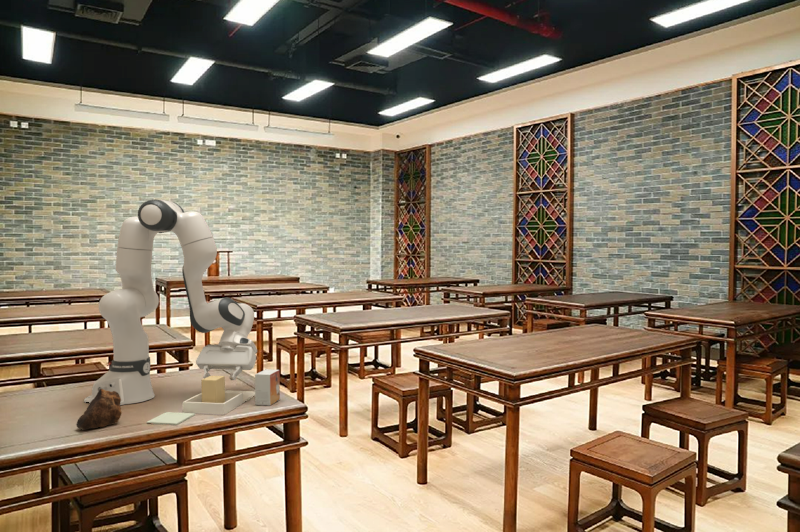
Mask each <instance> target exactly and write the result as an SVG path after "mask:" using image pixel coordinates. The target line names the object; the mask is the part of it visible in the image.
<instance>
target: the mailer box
mask: <svg viewBox="0 0 800 532" xmlns="http://www.w3.org/2000/svg"><path fill="white" fill-rule="evenodd" d="M253 396H254V397H255V390H254V391H253V390H252V391H251V390H226V389H225V403H203V402H202V392H200V393H199V394H196V395H194V396H192V397H190V398H188V399H186V400H184V401H182V413H195V415H196V414H197V415H214V416H215V415H217V416H218V415H219V416H225V415H227V414H228V413H229V412H232V411H233V410H234V409H236V408H238V407H240V406H241V405H243V404H244V403H246V402H247V401H249V400H251V399H252V398H254V397H253ZM251 397H252V398H251ZM250 398H251V399H250ZM245 401H246V402H245ZM242 403H243V404H242Z"/></svg>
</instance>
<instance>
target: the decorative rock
mask: <svg viewBox="0 0 800 532" xmlns="http://www.w3.org/2000/svg"><path fill="white" fill-rule="evenodd" d="M120 402H121V398H120V396H119V394H118V393H117V392H116V391H113V392H110V391H106V390H104V389H100V390H99V391H98V393H97V395H96V397H95V398H94V399H93V400H92V401H91V402H90V403H88V406H87V408H86V409H85V411H84V412H83V414H82V415H81V416H80V417H79V418H78V419H77V421H76V424H75V425H76V427H77V429H79V430H81V429H82V431H86V430H89V429H95V428H96V429H97V428H98V427H100V428H104V427H106V426H108V425H109V426H110V425H113V424H117V423H119V420H120V418H121V416H122V413H123V412H122V407H121V405H120Z"/></svg>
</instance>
